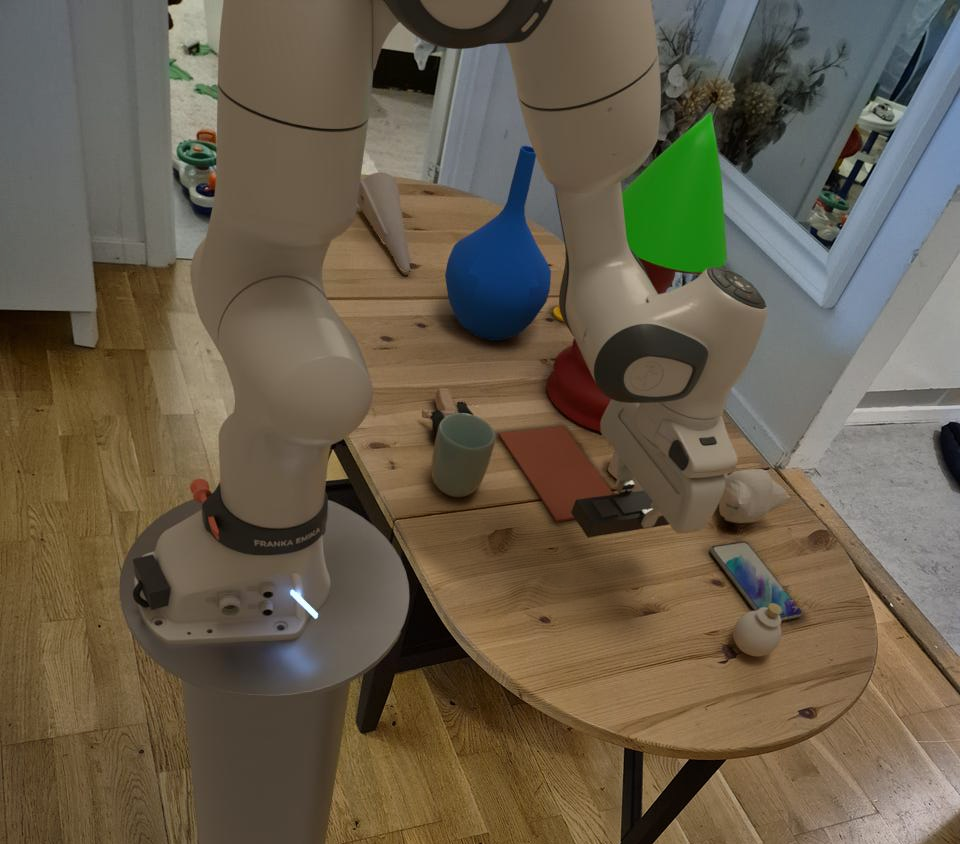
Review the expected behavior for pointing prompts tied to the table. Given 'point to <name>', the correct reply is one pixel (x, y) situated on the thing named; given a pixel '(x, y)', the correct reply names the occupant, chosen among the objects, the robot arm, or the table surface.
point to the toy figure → (444, 408)
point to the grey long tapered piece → (385, 214)
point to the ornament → (759, 630)
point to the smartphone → (754, 578)
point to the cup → (461, 453)
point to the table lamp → (657, 246)
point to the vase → (500, 268)
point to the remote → (613, 513)
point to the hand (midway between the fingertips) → (633, 507)
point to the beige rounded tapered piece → (750, 496)
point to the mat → (555, 468)
